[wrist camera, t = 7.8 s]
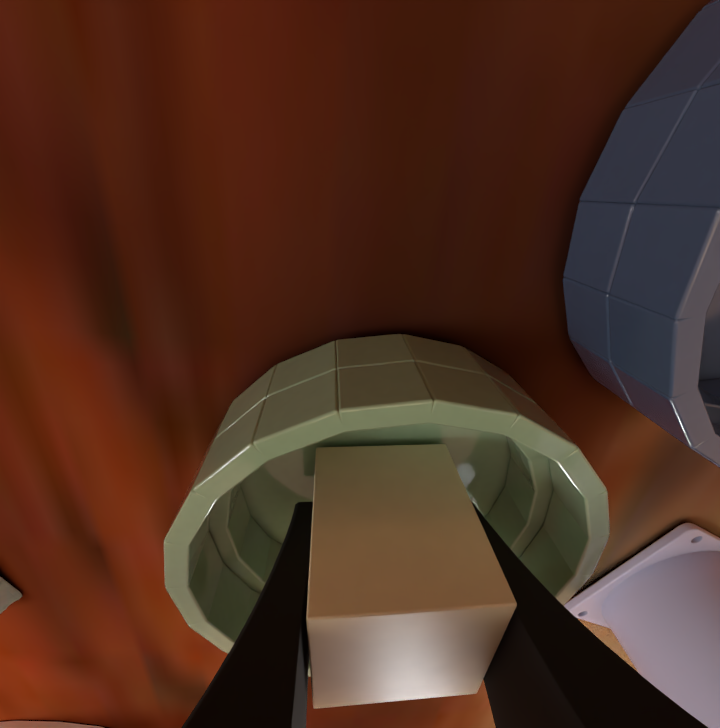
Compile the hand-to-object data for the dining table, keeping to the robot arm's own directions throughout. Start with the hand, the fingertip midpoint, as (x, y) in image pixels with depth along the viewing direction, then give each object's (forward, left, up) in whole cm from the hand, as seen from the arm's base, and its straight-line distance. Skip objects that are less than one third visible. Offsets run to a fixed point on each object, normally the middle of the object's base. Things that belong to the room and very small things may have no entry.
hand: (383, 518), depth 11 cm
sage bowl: (0, 0, -2) cm, 2 cm away
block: (0, 0, -1) cm, 1 cm away
